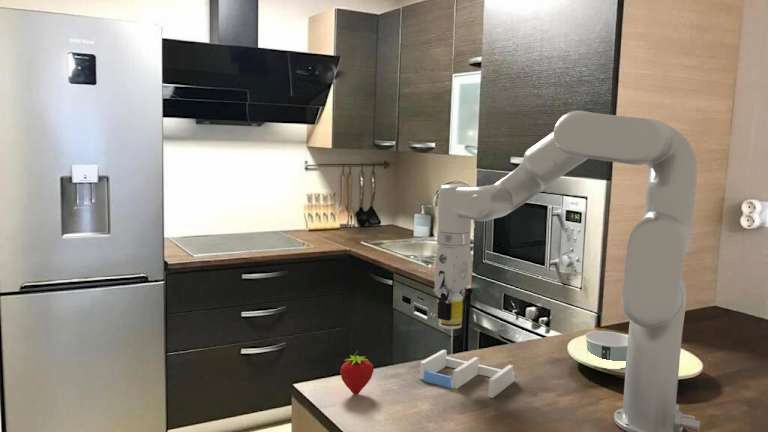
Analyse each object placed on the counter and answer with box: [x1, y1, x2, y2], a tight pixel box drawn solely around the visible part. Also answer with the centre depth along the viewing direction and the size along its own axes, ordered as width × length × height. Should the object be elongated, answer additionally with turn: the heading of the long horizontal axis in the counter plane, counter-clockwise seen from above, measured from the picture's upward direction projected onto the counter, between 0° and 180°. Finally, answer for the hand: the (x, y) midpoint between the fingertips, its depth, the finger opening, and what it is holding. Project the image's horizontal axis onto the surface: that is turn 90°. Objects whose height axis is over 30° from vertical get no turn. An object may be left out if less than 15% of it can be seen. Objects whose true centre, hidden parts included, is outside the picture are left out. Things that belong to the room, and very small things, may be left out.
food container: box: [583, 330, 628, 361], centre depth 162 cm, size 12×12×6 cm
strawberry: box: [339, 350, 375, 395], centre depth 139 cm, size 6×8×10 cm
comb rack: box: [419, 349, 516, 399], centre depth 148 cm, size 18×13×4 cm
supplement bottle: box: [438, 286, 464, 330], centre depth 148 cm, size 5×5×10 cm
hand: (450, 315), depth 149 cm, fingers closed on supplement bottle, 5 cm apart
